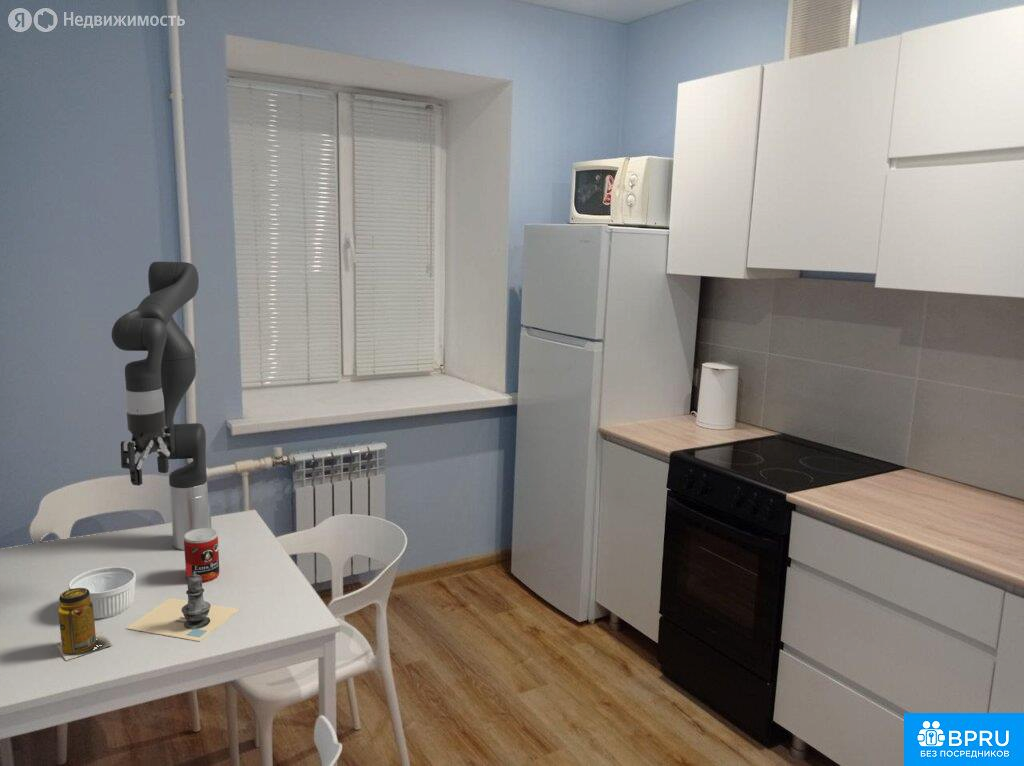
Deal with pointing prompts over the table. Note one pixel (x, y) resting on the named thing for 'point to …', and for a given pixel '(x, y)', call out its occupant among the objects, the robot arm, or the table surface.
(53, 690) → the table surface
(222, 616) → the letter
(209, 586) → the table surface
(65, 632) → the condiment
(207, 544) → the canned food
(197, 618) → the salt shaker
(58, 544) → the table surface
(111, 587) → the ramekin
